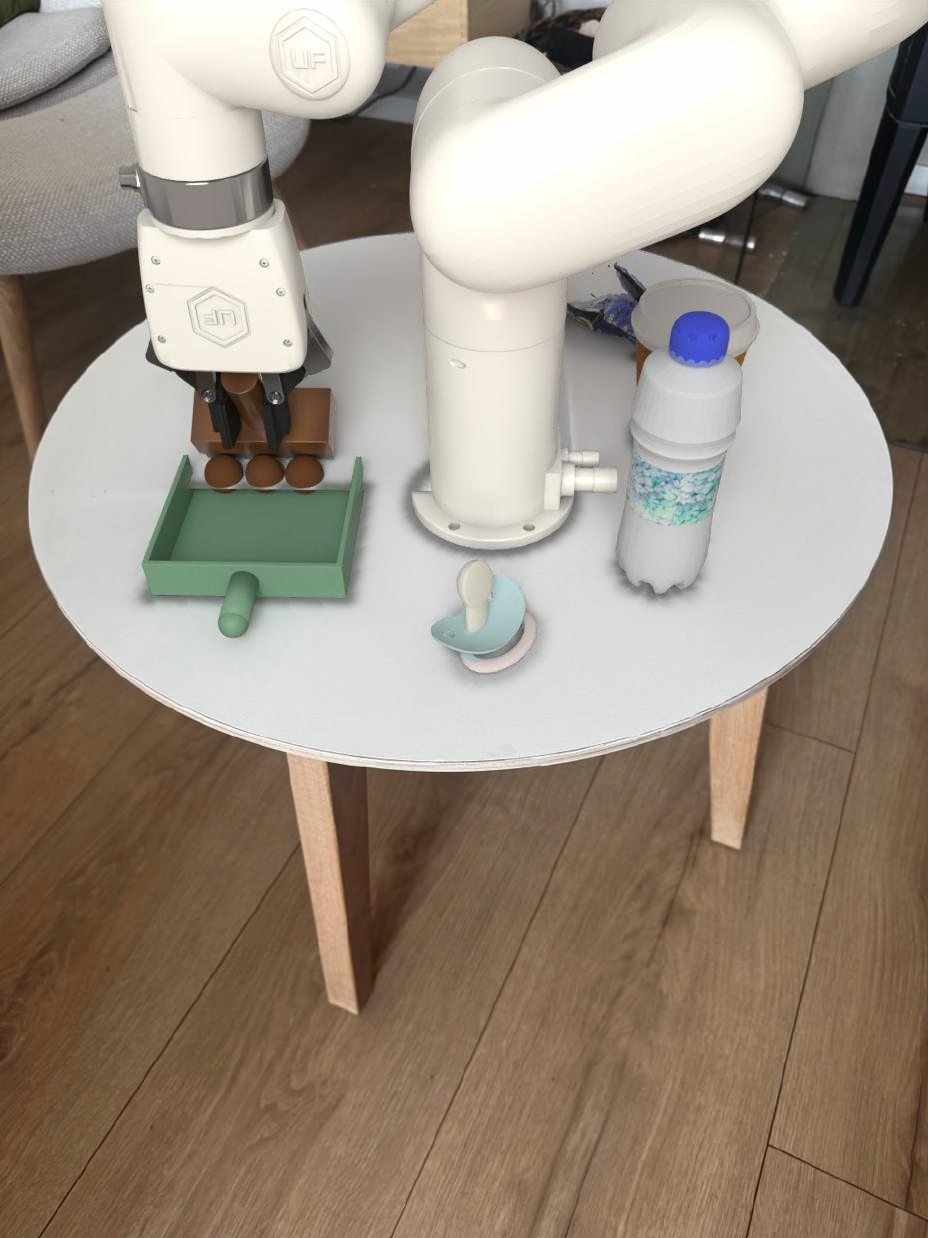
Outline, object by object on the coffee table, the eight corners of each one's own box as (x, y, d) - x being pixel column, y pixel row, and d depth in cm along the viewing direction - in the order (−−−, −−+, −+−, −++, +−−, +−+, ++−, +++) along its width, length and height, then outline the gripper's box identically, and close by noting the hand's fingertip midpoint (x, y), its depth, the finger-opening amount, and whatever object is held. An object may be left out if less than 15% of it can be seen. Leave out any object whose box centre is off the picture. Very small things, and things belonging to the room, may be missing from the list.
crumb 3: (317, 451, 75) (311, 489, 75) (332, 462, 78) (326, 499, 78) (281, 448, 76) (275, 486, 76) (297, 459, 79) (291, 496, 79)
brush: (339, 409, 79) (316, 346, 68) (336, 461, 78) (312, 406, 67) (209, 408, 79) (166, 346, 69) (205, 460, 78) (161, 405, 68)
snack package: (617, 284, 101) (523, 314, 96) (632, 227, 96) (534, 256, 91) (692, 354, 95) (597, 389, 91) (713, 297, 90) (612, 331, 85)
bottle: (701, 542, 73) (755, 290, 59) (708, 607, 69) (768, 350, 54) (610, 537, 74) (641, 286, 59) (610, 601, 69) (644, 345, 55)
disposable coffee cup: (596, 448, 81) (609, 314, 73) (650, 393, 87) (668, 263, 78) (702, 489, 78) (730, 353, 69) (752, 429, 83) (783, 296, 74)
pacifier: (555, 628, 68) (484, 589, 70) (563, 561, 63) (486, 523, 65) (492, 695, 64) (419, 652, 66) (496, 629, 59) (417, 586, 61)
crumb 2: (290, 494, 78) (290, 455, 78) (274, 491, 75) (274, 451, 75) (255, 494, 79) (255, 456, 79) (238, 492, 76) (238, 452, 76)
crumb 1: (252, 490, 78) (244, 453, 78) (240, 486, 75) (232, 448, 75) (216, 498, 79) (208, 461, 79) (202, 494, 76) (194, 456, 76)
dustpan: (191, 486, 79) (183, 454, 76) (364, 488, 78) (361, 456, 76) (133, 649, 67) (120, 616, 64) (337, 652, 66) (331, 620, 64)
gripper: (55, 212, 57) (132, 467, 71) (333, 218, 57) (358, 474, 70) (96, 160, 63) (160, 407, 76) (350, 166, 62) (370, 413, 75)
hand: (254, 437), depth 73 cm, fingers closed on brush, 2 cm apart
